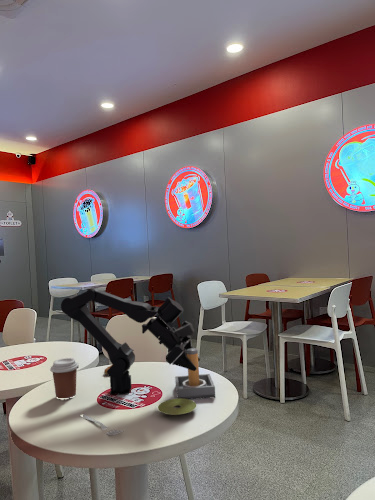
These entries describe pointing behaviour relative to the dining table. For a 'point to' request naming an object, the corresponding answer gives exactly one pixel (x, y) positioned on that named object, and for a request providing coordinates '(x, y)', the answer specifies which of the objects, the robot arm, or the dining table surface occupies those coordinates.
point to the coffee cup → (64, 377)
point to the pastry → (107, 369)
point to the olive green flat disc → (177, 406)
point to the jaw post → (194, 375)
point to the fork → (103, 426)
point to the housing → (195, 387)
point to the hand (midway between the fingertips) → (197, 365)
